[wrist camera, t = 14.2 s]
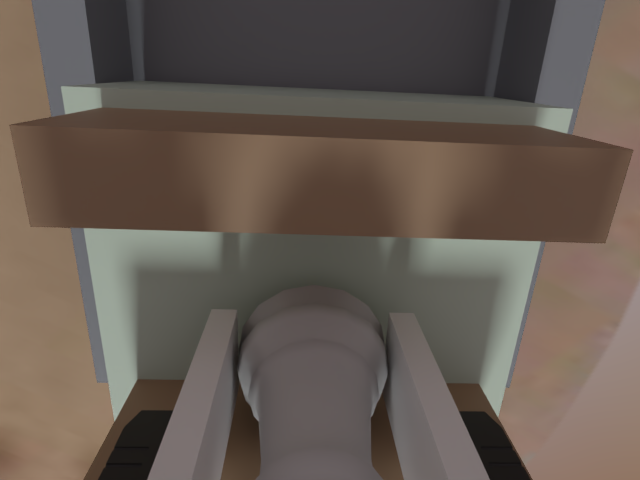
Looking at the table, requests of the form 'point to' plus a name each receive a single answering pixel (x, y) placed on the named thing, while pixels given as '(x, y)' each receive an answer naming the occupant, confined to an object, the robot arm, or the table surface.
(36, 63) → the table surface
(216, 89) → the mint green base plate
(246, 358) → the rook chess piece
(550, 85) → the bay
